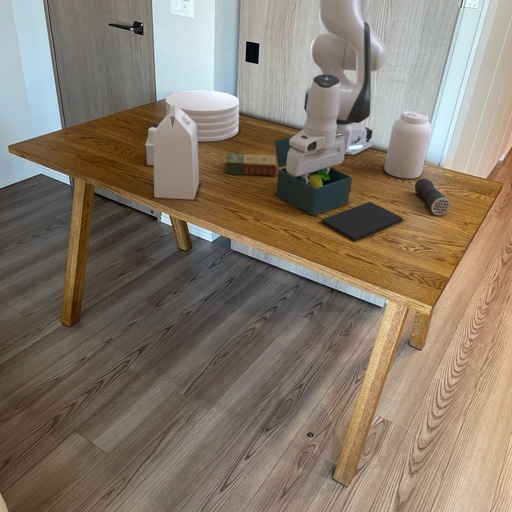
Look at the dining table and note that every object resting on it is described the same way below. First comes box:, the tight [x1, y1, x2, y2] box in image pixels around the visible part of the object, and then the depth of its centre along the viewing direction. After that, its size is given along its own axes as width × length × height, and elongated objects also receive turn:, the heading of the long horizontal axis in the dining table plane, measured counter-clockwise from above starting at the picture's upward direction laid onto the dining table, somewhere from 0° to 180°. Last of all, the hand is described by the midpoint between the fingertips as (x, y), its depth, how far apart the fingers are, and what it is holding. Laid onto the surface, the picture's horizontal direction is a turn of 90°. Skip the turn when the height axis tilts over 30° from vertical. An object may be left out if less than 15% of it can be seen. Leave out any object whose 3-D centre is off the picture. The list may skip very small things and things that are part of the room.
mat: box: [321, 201, 403, 242], centre depth 138 cm, size 20×12×1 cm, turn 129°
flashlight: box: [414, 178, 452, 216], centre depth 149 cm, size 15×5×5 cm, turn 5°
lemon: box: [300, 171, 330, 188], centre depth 146 cm, size 7×6×10 cm
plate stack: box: [165, 89, 240, 143], centre depth 193 cm, size 28×28×12 cm
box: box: [276, 166, 353, 217], centre depth 146 cm, size 16×15×8 cm
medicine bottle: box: [144, 124, 159, 166], centre depth 163 cm, size 7×7×12 cm
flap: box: [273, 136, 293, 168], centre depth 147 cm, size 8×14×1 cm
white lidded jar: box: [383, 110, 433, 180], centre depth 164 cm, size 12×12×20 cm
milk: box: [153, 99, 200, 201], centre depth 142 cm, size 12×12×26 cm
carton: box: [225, 152, 277, 177], centre depth 163 cm, size 8×16×4 cm, turn 88°
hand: (313, 183), depth 146 cm, fingers closed on lemon, 5 cm apart
